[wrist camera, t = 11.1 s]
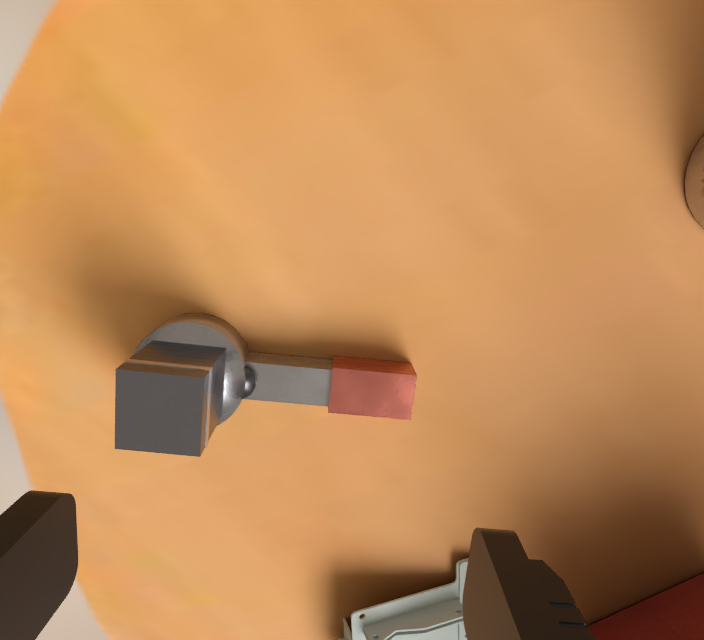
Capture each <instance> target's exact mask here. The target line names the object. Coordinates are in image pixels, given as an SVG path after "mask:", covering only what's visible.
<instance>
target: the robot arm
mask: <svg viewBox="0 0 704 640" xmlns="http://www.w3.org/2000/svg"><path fill="white" fill-rule="evenodd" d="M685 194H686V199H687V203H688V206H689V209H690V211H691V213H692V214H693V216H694V218H695V220H696V221H697V222H698V223H699V224H700V225H701V226H702V227H703V228H704V135H703V137H702V138H701V139H700V140H699V142H698V144H697V146H696V147H695V149H694V151H693V152H692V155H691V158H690V160H689V163H688V166H687V171H686V177H685ZM77 567H78V545H77V523H76V504H75V499H74V497H73V496H72V495H71V494H68V493H56V492H44V491H29V492H27V493H25V494H24V495H23V496H22V497H21V498H19V499H18V500H17V501H16V502H15V503H14V504H13V505H11V506H10V507H9V508H8V509H7V510H6V511H5V512H4V513H2V514H1V515H0V640H35V639H36V638H37V636H38V635H39V634H40V632H41V631H42V629H43V628H44V627H45V625H46V624H47V623H48V621H49V620H50V618H51V617H52V616H53V614H54V613H55V612H56V610H57V609H58V607H59V606H60V605H61V603H62V602H63V601H64V599H65V598H66V596H67V595H68V593H69V591H70V589H71V587H72V585H73V582H74V580H75V576H76V572H77ZM462 610H463V622H464V628H465V632H466V636H467V640H595V638H594V636H593V634H592V633H591V631H590V629H587V623H586V622H585V620H584V618H583V616H582V614H581V612H580V610H579V609H577V608H576V603H575V601H574V599H573V598H572V596H571V594H570V592H569V590H568V588H567V586H566V585H565V583H564V581H563V580H562V579H561V578H560V577H559V576H558V575H557V574H556V573H555V572H554V571H553V570H552V569H551V568H550V567H549V566H548V565H547V564H545V563H544V562H543V561H542V560H531V559H528V557H527V555H526V553H525V551H524V549H523V547H522V545H521V542H520V540H519V538H518V536H517V534H516V533H515V532H514V531H509V530H497V529H484V528H476V529H475V530H474V532H473V535H472V540H471V546H470V553H469V559H468V565H467V571H466V577H465V583H464V590H463V600H462Z"/></svg>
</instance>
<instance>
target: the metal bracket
mask: <svg viewBox="0 0 704 640" xmlns="http://www.w3.org/2000/svg"><path fill="white" fill-rule="evenodd" d="M468 559H469V558H466V559H463V560H459V561H458V562H457V563H456V579H455V581H454V582H452V583H449V584H446V585H442V586H439V587H435V588H432V589H429V590H425V591H422V592H418V593H415V594H412V595H408V596H405V597H401V598H398V599H394V600H391V601H388V602H384V603H381V604H377V605H374V606H371V607H367V608H364V609H360V610H357V611H354V612H353V613H352V614H351V631H352V634H351V631H350V629H349V626H348V624H347V621H346V619H345V618H343V624H344V638H342V637H341V638H338V639H337V640H467V636H465V635H466V632H465V628H464V622H463V610H462V600H463V590H464V583H465V577H466V571H467V565H468ZM361 614H365V616H364V617H363V618H359V616H360V615H361Z"/></svg>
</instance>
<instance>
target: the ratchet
mask: <svg viewBox="0 0 704 640" xmlns="http://www.w3.org/2000/svg"><path fill="white" fill-rule="evenodd" d="M152 340H156V341H166V342H175V343H185V344H194V345H204V346H213V347H223V348H226V362H225V377H224V392H223V408H222V416H221V418H220V420H219V422H218V423H217V425H219V424H221V423H222V422H224V421H225V420H227V419H228V418H229V417H230V416H231V415H232V414H233V413H234V412H235V410H236V409H237V407H238V406H239V404H240V402H241V400H242V399H250V400H261V401H273V402H284V403H295V404H307V405H318V406H328V413H339V414H350V415H362V416H373V417H385V418H396V419H407V420H411V413H412V406H413V400H414V393H415V386H416V379H417V375H416V372H415V370H414V368H413V366H412V363H405V362H394V361H383V360H373V359H362V358H351V357H341V356H333V360H332V359H321V358H311V357H300V356H289V355H279V354H268V353H257V352H250V350H249V348H248V346H247V344H246V342H245V340H244V339H243V337H242V336H241V335H240V333H239V332H238V331H237V330H236V329H235V328H234V327H232V326H231V325H230V324H229V323H227V322H225V321H224V320H222V319H220V318H217V317H215V316H211V315H208V314H201V313H191V314H184V315H180V316H177V317H174V318H172V319H170V320H168V321H167V322H165V323H164V324H163V325H161V326H160V327H159V328H157V329H156V330H154V331H153V332H152V333H150V334H149V335H148V336H147V337H146V338H144V339H143V340H142V342H141V343H140V344H139V345H138V347H137V349H136V350H135V352H134V354H136V353H137V352H138V351H140V350H141V349H142V348H143V347H145V346H146V345H147V344H149V343H150V342H151V341H152ZM134 354H133V355H134ZM217 425H216V426H217Z"/></svg>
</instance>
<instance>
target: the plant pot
mask: <svg viewBox="0 0 704 640" xmlns="http://www.w3.org/2000/svg"><path fill="white" fill-rule="evenodd" d="M587 629H590V631H591V633H592V634H593V636H594V638H595V640H704V574H701V575H699V576H697V577H694V578H692V579H690V580H688V581H686V582H684V583H681V584H679V585H677V586H675V587H673V588H670V589H668V590H666V591H664V592H662V593H660V594H657V595H655V596H653V597H651V598H649V599H647V600H645V601H642V602H640V603H638V604H636V605H634V606H631V607H629V608H627V609H625V610H623V611H621V612H618V613H616V614H614V615H612V616H610V617H607V618H605V619H603V620H601V621H599V622H596V623H594V624H592V625H590V626H588V627H587Z"/></svg>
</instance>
